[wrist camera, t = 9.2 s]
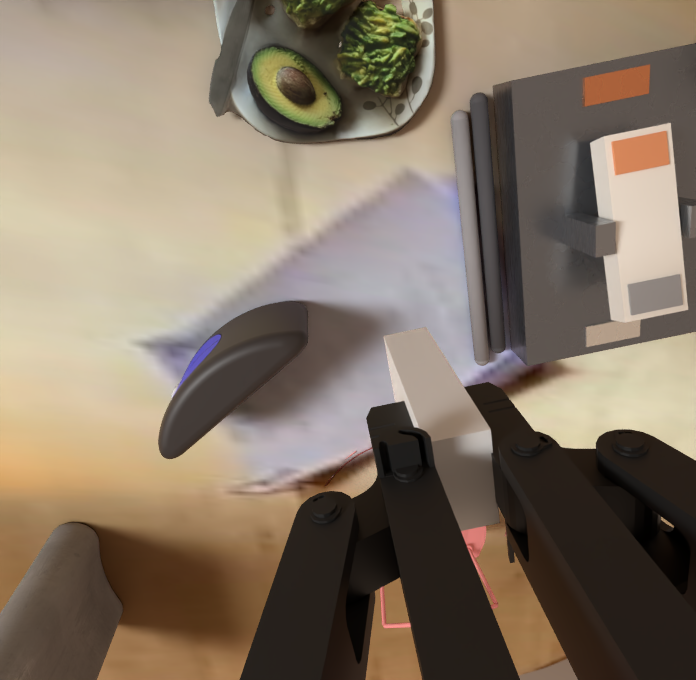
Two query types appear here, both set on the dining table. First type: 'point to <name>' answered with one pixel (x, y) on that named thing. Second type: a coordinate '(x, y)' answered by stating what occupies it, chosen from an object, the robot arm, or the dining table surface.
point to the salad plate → (323, 67)
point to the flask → (60, 612)
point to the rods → (486, 223)
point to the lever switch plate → (584, 197)
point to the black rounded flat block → (231, 371)
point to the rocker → (641, 222)
